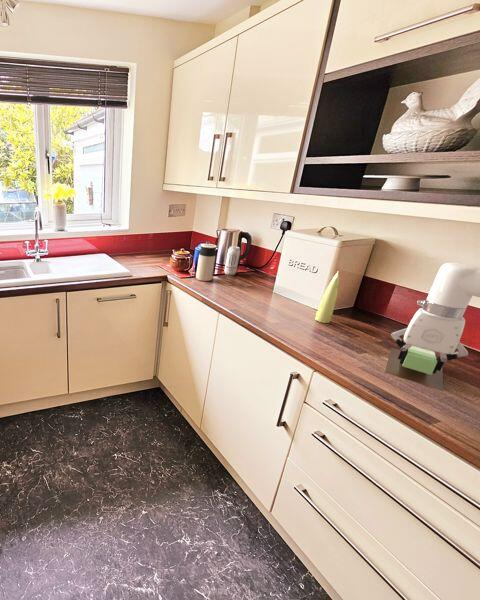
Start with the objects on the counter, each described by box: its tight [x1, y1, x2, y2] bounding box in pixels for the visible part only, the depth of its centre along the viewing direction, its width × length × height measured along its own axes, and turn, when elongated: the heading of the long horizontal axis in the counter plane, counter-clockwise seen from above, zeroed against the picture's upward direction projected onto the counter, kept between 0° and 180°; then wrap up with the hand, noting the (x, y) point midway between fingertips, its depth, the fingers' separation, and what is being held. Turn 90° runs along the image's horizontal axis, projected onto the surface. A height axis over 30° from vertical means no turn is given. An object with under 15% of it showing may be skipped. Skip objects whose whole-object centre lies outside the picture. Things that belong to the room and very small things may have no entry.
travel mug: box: [195, 243, 217, 282], centre depth 173 cm, size 8×8×18 cm
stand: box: [384, 347, 444, 392], centre depth 100 cm, size 12×20×1 cm, turn 135°
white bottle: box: [224, 245, 241, 276], centre depth 182 cm, size 6×6×15 cm
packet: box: [402, 346, 437, 375], centre depth 99 cm, size 6×14×4 cm, turn 135°
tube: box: [314, 271, 340, 324], centre depth 127 cm, size 6×5×20 cm
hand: (417, 366), depth 96 cm, fingers closed on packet, 6 cm apart
